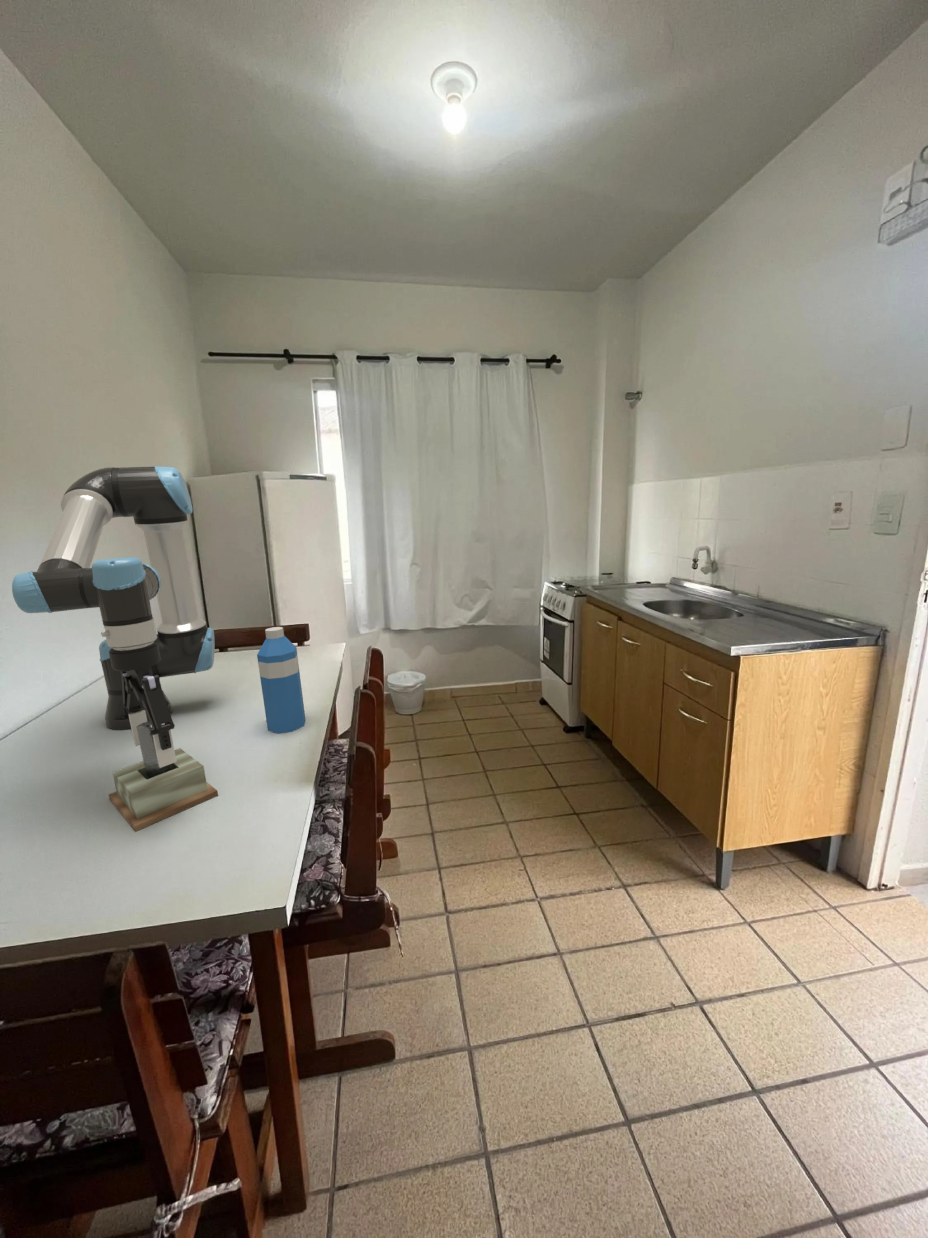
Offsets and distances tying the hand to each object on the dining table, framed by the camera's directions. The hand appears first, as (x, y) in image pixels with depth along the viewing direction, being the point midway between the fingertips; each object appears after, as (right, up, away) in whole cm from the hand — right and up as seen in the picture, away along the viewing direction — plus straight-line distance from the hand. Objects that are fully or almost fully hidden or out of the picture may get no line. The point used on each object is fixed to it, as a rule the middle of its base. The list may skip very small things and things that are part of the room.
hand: (154, 753), depth 96 cm
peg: (0, -8, +2) cm, 8 cm away
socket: (0, -9, +2) cm, 9 cm away
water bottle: (+14, -2, +32) cm, 35 cm away
